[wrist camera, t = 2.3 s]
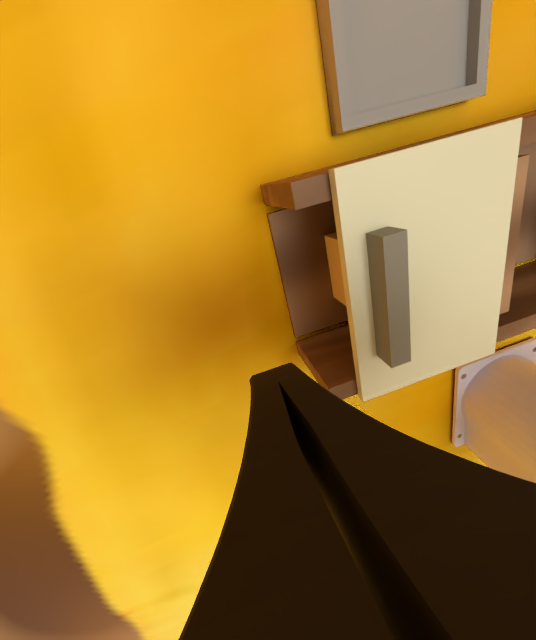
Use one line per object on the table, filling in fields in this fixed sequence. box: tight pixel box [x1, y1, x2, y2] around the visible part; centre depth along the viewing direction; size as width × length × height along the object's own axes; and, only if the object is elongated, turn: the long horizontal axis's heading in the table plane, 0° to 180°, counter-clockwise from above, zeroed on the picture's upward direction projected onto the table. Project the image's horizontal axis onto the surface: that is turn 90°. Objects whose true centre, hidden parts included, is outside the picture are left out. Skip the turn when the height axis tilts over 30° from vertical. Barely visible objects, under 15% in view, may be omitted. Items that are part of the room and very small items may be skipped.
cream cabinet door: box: [328, 117, 523, 402], centre depth 13 cm, size 11×8×2 cm
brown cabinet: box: [260, 110, 536, 400], centre depth 17 cm, size 11×20×5 cm, turn 104°
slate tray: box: [316, 0, 492, 136], centre depth 14 cm, size 8×8×1 cm
